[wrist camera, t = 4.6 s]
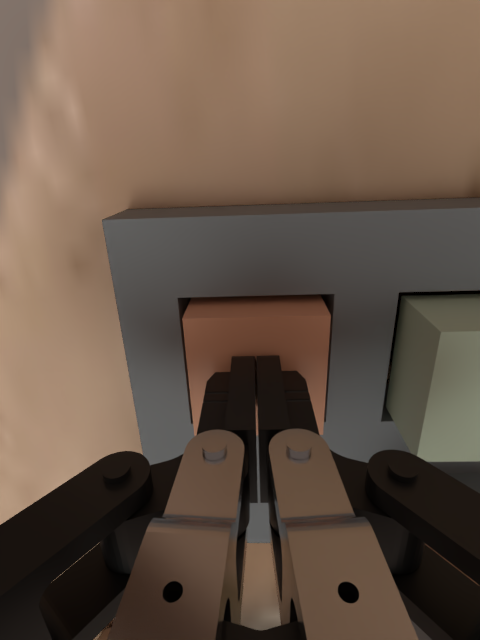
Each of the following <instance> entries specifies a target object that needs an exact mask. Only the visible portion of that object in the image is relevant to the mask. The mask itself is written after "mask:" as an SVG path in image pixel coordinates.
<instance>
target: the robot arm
mask: <svg viewBox="0 0 480 640" xmlns="http://www.w3.org/2000/svg"><path fill="white" fill-rule="evenodd" d="M256 360H257V408H258V442H259V475H260V503H268V505H269V535H270V543H271V550H272V558H273V565H274V573H275V580H276V588H277V595H278V602H279V610H280V620H281V626H278V627H274V628H271V629H268V630H263V631H258V630H254V629H251V628H248V627H244V626H241V625H240V619H241V605H242V593H243V582H244V570H245V559H246V548H247V536H248V524H249V520H250V503H258V492H257V448H256V404H255V360H254V356H232V359H231V370H230V372H215V373H214V374H213V375H212V376H211V377H210V378H209V380H208V381H207V383H206V388H205V394H204V399H203V404H202V409H201V414H200V419H199V425H198V430H197V435H196V436H195V437H193V438H192V439H191V440H190V441H189V442H188V444H187V446H186V448H185V451H184V453H183V454H182V455H180V456H178V457H176V458H174V459H171V460H168V461H164V462H161V463H157V464H153V465H150V464H149V461H148V460H147V458H146V457H145V456H143V455H142V454H140V453H137V452H132V451H123V452H117V453H114V454H110V455H108V456H106V457H104V458H102V459H100V460H99V461H97V462H96V463H94V464H93V465H91V466H90V467H88V468H87V469H85V470H84V471H82V472H81V473H79V474H77V475H76V476H74V477H73V478H71V479H70V480H68V481H67V482H65V483H64V484H62V485H61V486H59V487H58V488H56V489H55V490H53V491H52V492H50V493H48V494H47V495H45V496H44V497H42V498H41V499H39V500H38V501H36V502H35V503H33V504H32V505H30V506H29V507H27V508H26V509H24V510H23V511H21V512H19V513H18V514H16V515H15V516H13V517H12V518H10V519H9V520H7V521H6V522H4V523H3V524H1V525H0V640H93V639H94V638H95V637H96V636H97V635H98V634H99V633H100V632H101V631H102V630H103V629H104V628H105V627H106V626H107V625H108V624H109V623H110V622H111V621H112V620H113V619H114V618H115V619H114V621H113V624H112V627H111V630H110V632H109V635H108V638H107V640H419V639H418V637H417V635H416V632H415V630H414V627H413V625H412V622H411V620H412V621H413V622H414V623H415V624H416V625H417V626H418V627H419V628H420V629H421V630H422V631H423V632H424V633H425V634H427V635H428V636H429V637H430V638H431V639H432V640H480V493H478V492H476V491H475V490H473V489H471V488H470V487H468V486H466V485H465V484H463V483H461V482H460V481H458V480H456V479H455V478H453V477H451V476H450V475H448V474H446V473H445V472H443V471H441V470H440V469H438V468H436V467H435V466H433V465H431V464H430V463H428V462H426V461H425V460H423V459H421V458H420V457H418V456H416V455H414V454H411V453H409V452H405V451H401V450H383V451H379V452H377V453H375V454H374V455H373V456H372V457H371V458H370V459H369V462H368V463H366V462H362V461H358V460H353V459H350V458H346V457H343V456H341V455H339V454H337V453H335V452H333V451H332V450H330V449H329V446H328V444H327V443H326V441H325V440H324V439H323V438H322V437H321V436H320V434H319V430H318V426H317V422H316V419H315V415H314V411H313V407H312V403H311V399H310V395H309V392H308V387H307V383H306V379H305V378H304V377H303V376H302V375H301V374H300V373H299V372H298V371H282V370H281V364H280V357H279V355H271V356H256ZM99 542H100V543H99ZM98 543H99V544H98ZM97 544H98V545H97ZM427 545H428V546H429V547H430V548H429V547H428V546H427ZM94 546H95V547H94ZM93 547H94V548H93ZM92 548H93V549H92ZM431 548H432V549H433V550H434V551H433V550H432V549H431ZM91 549H92V550H91ZM89 550H90V551H89ZM88 551H89V552H88ZM435 551H436V552H437V553H438V554H437V553H436V552H435ZM87 552H88V553H87ZM86 553H87V554H86ZM83 555H84V556H83ZM440 555H441V556H442V557H443V558H442V557H441V556H440ZM82 556H83V557H82ZM81 557H82V558H81ZM80 558H81V559H80ZM444 558H445V559H446V560H447V561H446V560H445V559H444ZM77 560H78V561H77ZM76 561H77V562H76ZM448 561H449V562H450V563H451V564H450V563H449V562H448ZM75 562H76V563H75ZM74 563H75V564H74ZM71 565H72V566H71ZM453 565H454V566H455V567H456V568H455V567H454V566H453ZM70 566H71V567H70ZM69 567H70V568H69ZM68 568H69V569H68ZM457 568H458V569H459V570H460V571H459V570H458V569H457ZM66 569H67V570H66ZM65 570H66V571H65ZM64 571H65V572H64ZM461 571H462V572H463V573H464V574H465V575H464V574H463V573H462V572H461ZM63 572H64V573H63ZM62 573H63V574H62ZM60 574H61V575H60ZM59 575H60V576H59ZM466 575H467V576H468V577H469V578H468V577H467V576H466ZM58 576H59V577H58ZM57 577H58V578H57ZM470 578H471V579H472V580H473V581H472V580H471V579H470ZM54 579H55V580H54ZM53 580H54V581H53ZM52 581H53V582H52ZM474 581H475V582H476V583H477V584H478V585H477V584H476V583H475V582H474ZM51 582H52V583H51ZM410 619H411V620H410Z"/></svg>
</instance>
